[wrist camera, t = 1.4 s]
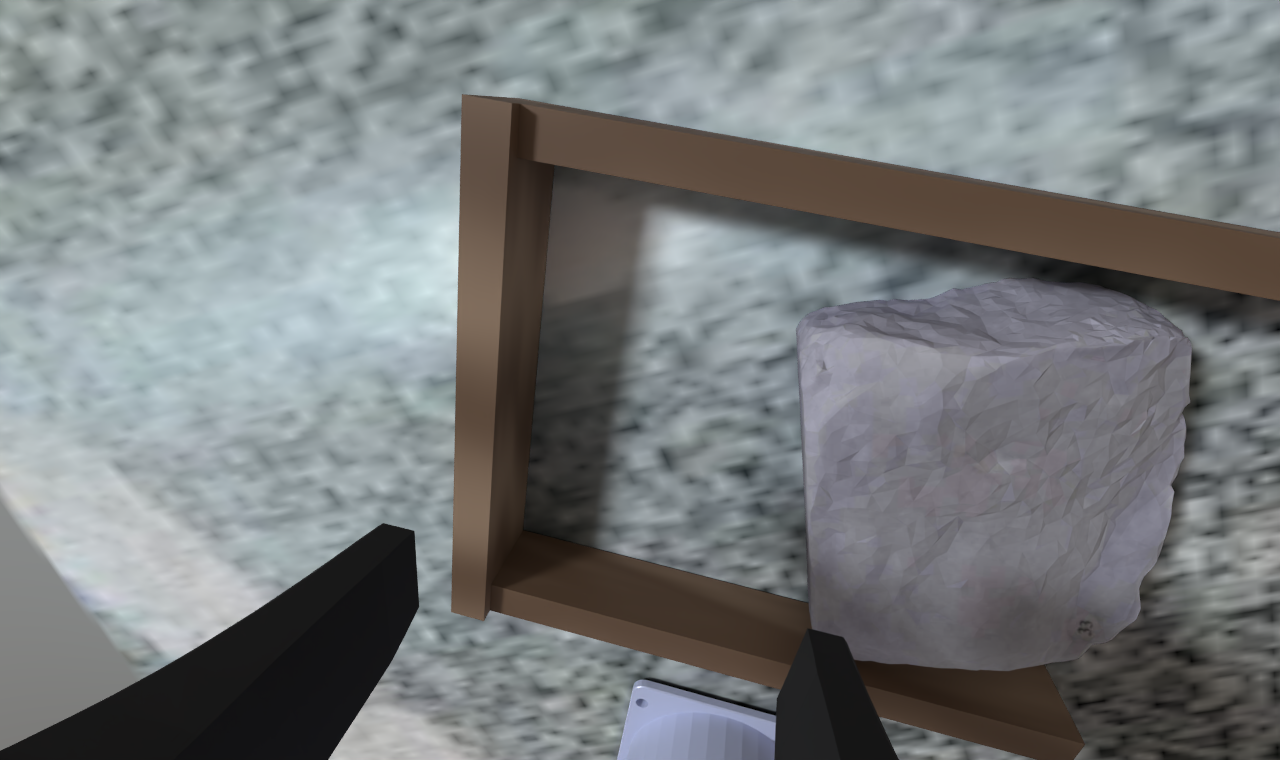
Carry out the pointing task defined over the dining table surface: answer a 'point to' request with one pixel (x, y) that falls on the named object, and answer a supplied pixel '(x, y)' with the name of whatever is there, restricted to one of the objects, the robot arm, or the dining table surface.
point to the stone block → (987, 469)
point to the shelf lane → (784, 177)
